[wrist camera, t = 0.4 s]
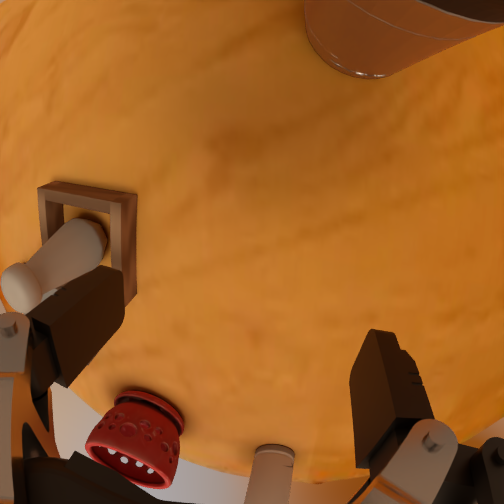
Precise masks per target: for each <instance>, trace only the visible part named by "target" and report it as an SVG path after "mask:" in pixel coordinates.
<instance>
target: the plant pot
mask: <svg viewBox="0 0 504 504" xmlns="http://www.w3.org/2000/svg"><path fill="white" fill-rule="evenodd" d="M114 406H115V407H113V408H112V409H110V410H109V411H108V412H107V413H106V414H105V415H104V417H103V418H102V420H101V421H100V422H99V423H98V424H97V425H96V426H95V427H94V429H93V430H92V432H91V433H90V435H89V437H88V439H87V441H86V444H85V449H86V451H87V453H88V454H89V456H90V457H91V458H92V459H93V460H94V461H96V462H98V463H100V464H102V465H104V466H107V467H109V468H111V469H113V470H115V471H117V472H118V473H119V474H121V475H122V476H124V477H125V478H126V479H128V480H129V481H131V482H132V483H134V484H137V485H140V486H143V487H147V488H153V489H165V488H168V487H169V486H170V485H171V484H172V481H173V479H174V476H175V473H176V469H177V465H178V458H179V453H180V441H179V436H181V435H182V433H183V431H184V423H183V421H182V418H181V417H180V415H179V414H178V412H177V411H176V410H175V409H174V408H173V407H172V406H170V405H169V404H168V403H166V402H165V401H163V400H162V399H161V398H158V397H156V396H153V395H151V394H148V393H145V392H141V391H126V392H122V393H120V394H119V395H117V396H116V398H115V400H114ZM99 446H101V447H99ZM108 448H109V449H112V450H115V451H116V453H115V454H113V455H112V454H110V453H109V452H108ZM123 456H124V457H126V458H127V459H128V463H126V464H125V463H123V462H121V460H120V458H121V457H123ZM137 461H139V462H141V463H143V466H142V467H137V466H136V462H137ZM149 468H151V469H153V470H154V472H153V473H151V474H149V473H148V472H147V470H148V469H149Z"/></svg>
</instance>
